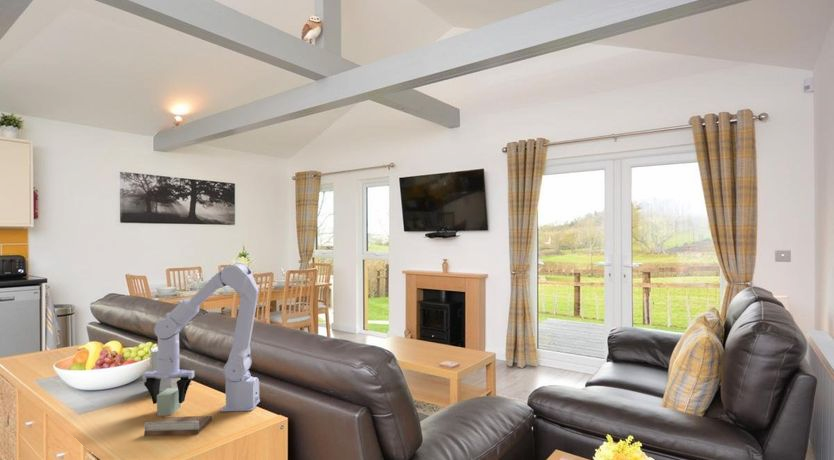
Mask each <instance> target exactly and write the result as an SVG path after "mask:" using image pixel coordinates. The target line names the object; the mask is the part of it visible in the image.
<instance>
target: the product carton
mask: <svg viewBox="0 0 834 460" xmlns="http://www.w3.org/2000/svg"><path fill="white" fill-rule="evenodd" d="M181 407H182V403H179V392H178V387H172V388H167V389H166V390H164V391H163V392H161V393H160V394H158V395H157V403H156V416H172V415H173V414H174V413H175V412H177V411H178V410H179V409H180V408H181Z"/></svg>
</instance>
